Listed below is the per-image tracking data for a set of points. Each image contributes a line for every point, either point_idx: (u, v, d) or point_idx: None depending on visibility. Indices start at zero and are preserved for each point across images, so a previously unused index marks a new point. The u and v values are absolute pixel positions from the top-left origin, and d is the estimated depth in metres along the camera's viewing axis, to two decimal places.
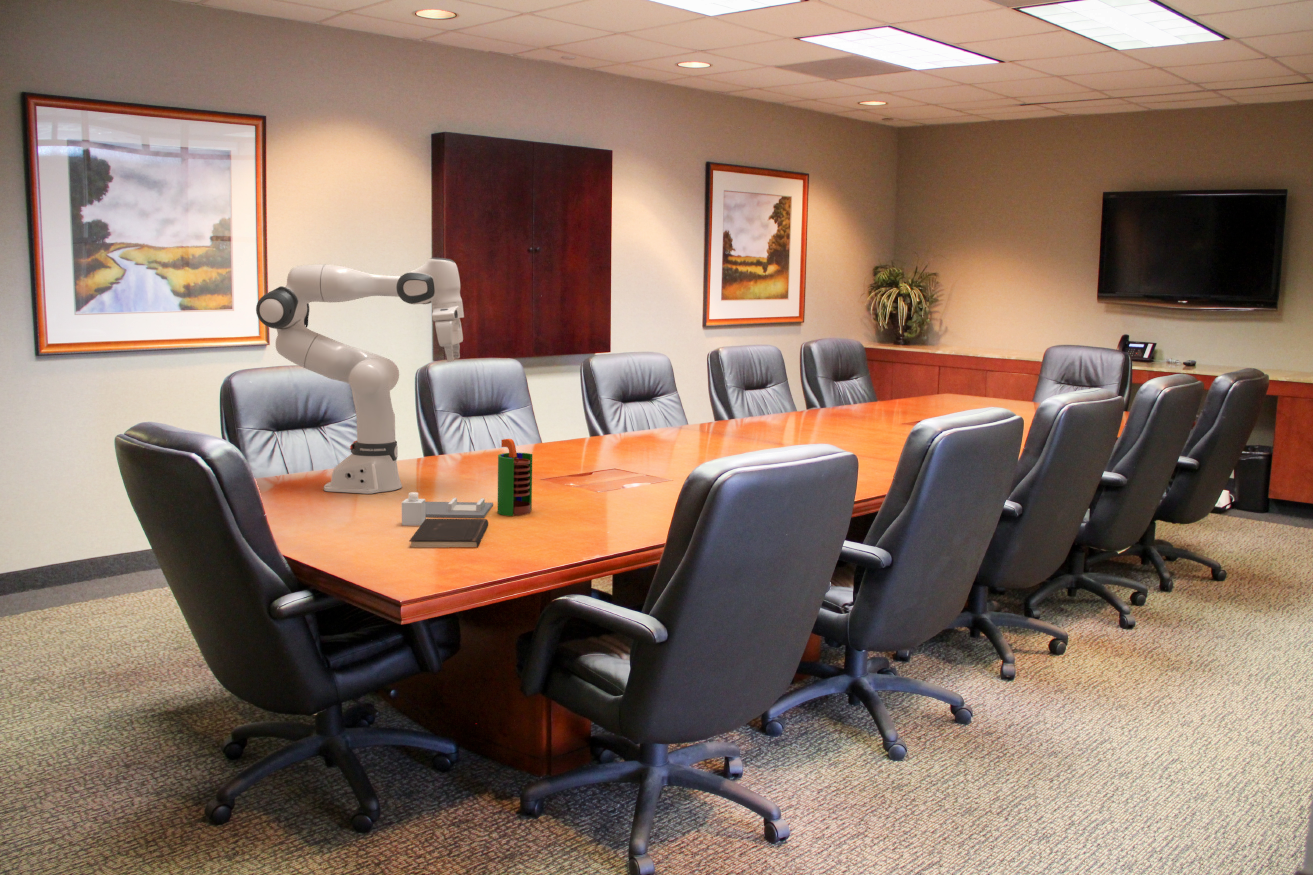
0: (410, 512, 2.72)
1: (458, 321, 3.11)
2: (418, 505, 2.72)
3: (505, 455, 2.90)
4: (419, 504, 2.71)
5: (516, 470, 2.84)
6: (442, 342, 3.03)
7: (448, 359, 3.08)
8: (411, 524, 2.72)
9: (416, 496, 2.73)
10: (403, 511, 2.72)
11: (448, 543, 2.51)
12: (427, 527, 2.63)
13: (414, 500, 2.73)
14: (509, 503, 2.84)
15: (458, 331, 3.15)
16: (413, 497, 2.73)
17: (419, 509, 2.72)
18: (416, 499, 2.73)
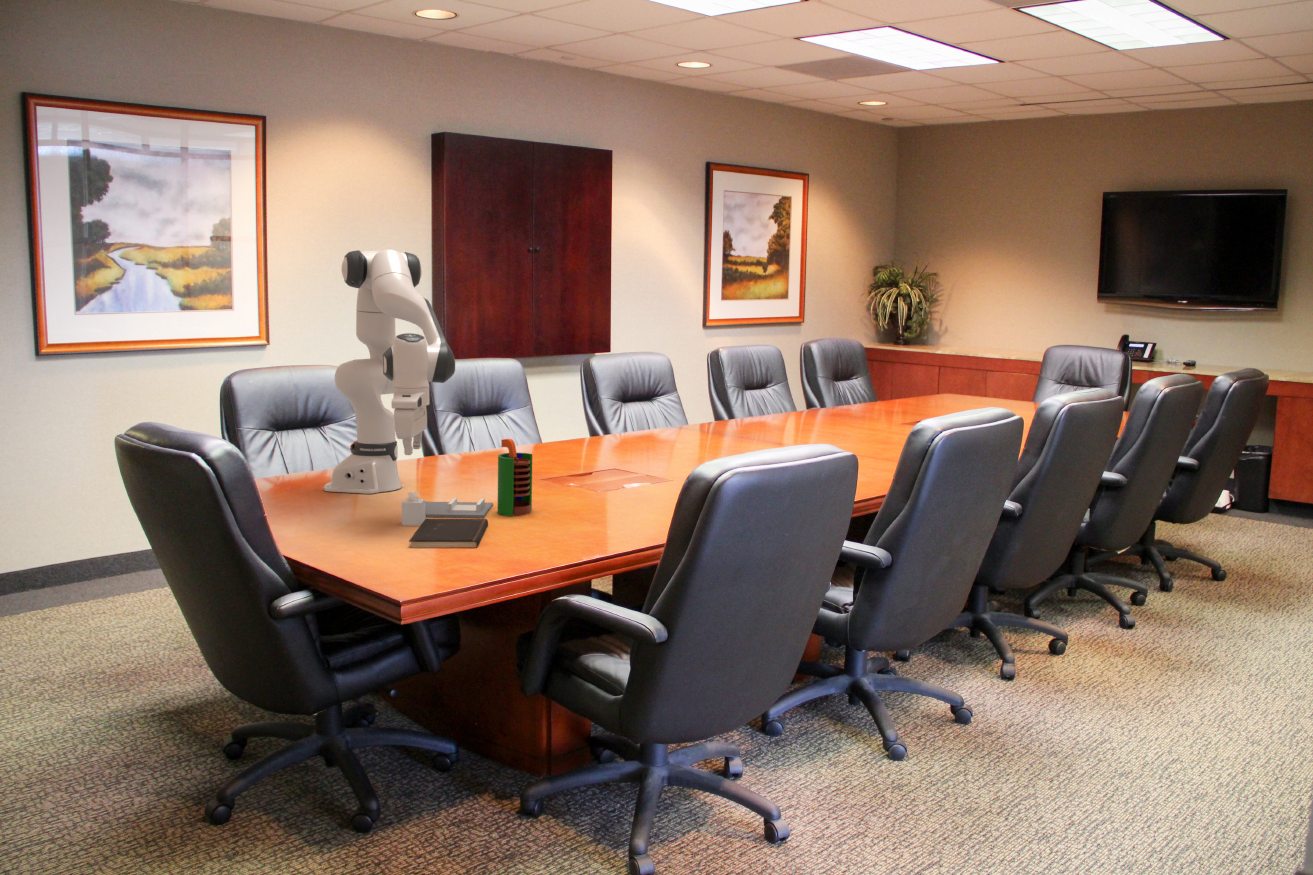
0: (410, 512, 2.72)
1: (422, 409, 2.69)
2: (418, 505, 2.72)
3: (505, 455, 2.90)
4: (419, 504, 2.71)
5: (516, 470, 2.84)
6: (400, 434, 2.61)
7: (406, 452, 2.66)
8: (411, 524, 2.72)
9: (416, 496, 2.73)
10: (403, 510, 2.72)
11: (448, 543, 2.51)
12: (427, 527, 2.63)
13: (414, 500, 2.73)
14: (509, 503, 2.84)
15: (421, 418, 2.74)
16: (413, 497, 2.73)
17: (419, 509, 2.72)
18: (416, 499, 2.73)
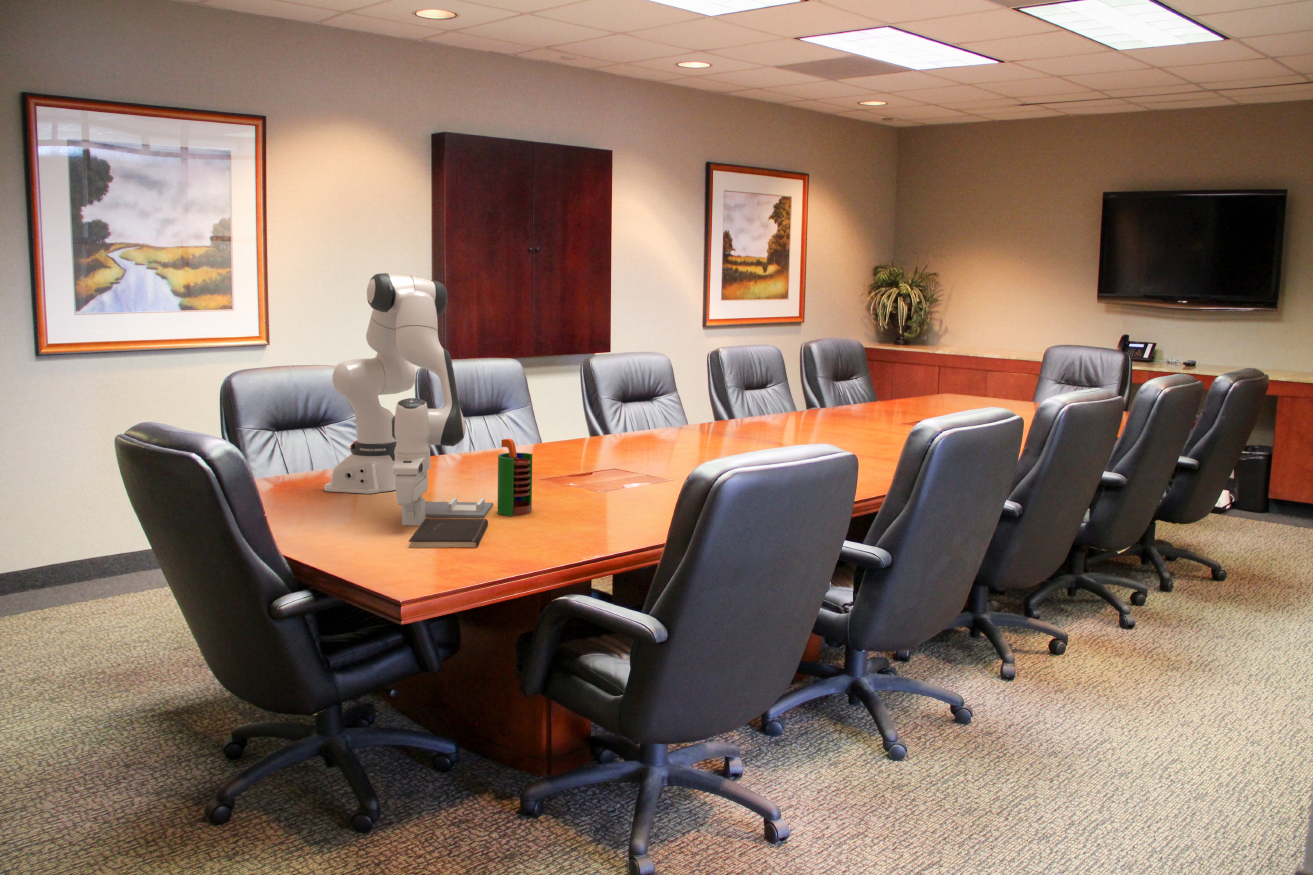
0: None
1: (423, 473, 2.72)
2: (418, 505, 2.72)
3: (505, 455, 2.90)
4: (419, 504, 2.71)
5: (516, 470, 2.84)
6: (401, 500, 2.64)
7: (408, 515, 2.70)
8: (411, 524, 2.72)
9: None
10: (403, 510, 2.72)
11: (447, 543, 2.51)
12: (427, 527, 2.63)
13: None
14: (509, 503, 2.84)
15: (422, 481, 2.76)
16: None
17: (419, 509, 2.72)
18: None
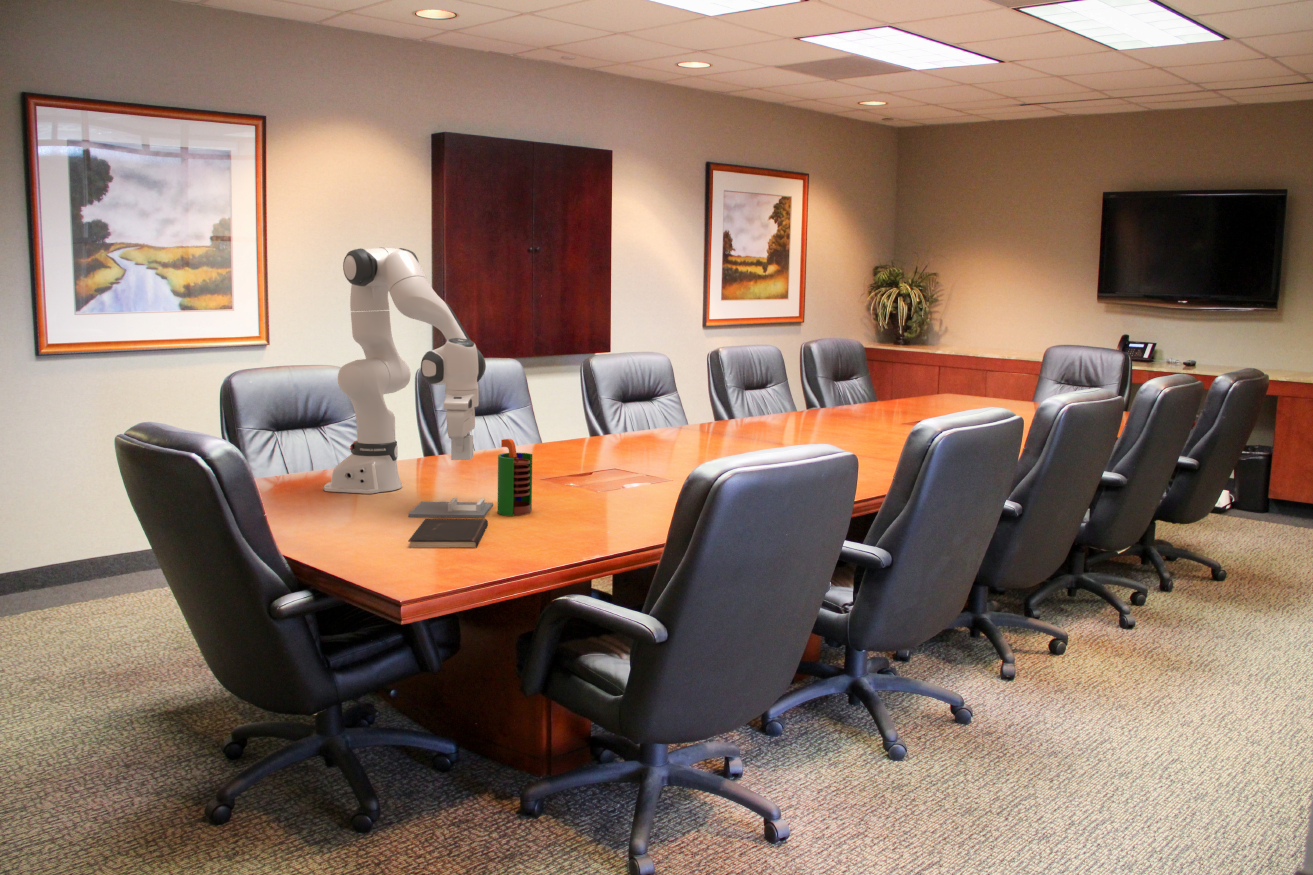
0: None
1: (472, 410, 2.83)
2: (467, 440, 2.83)
3: (505, 455, 2.90)
4: (468, 439, 2.83)
5: (516, 470, 2.84)
6: (451, 434, 2.75)
7: (457, 450, 2.82)
8: (460, 458, 2.84)
9: None
10: (453, 445, 2.84)
11: (447, 543, 2.51)
12: (426, 527, 2.63)
13: None
14: (509, 503, 2.84)
15: (470, 419, 2.88)
16: None
17: (468, 444, 2.83)
18: (465, 435, 2.85)
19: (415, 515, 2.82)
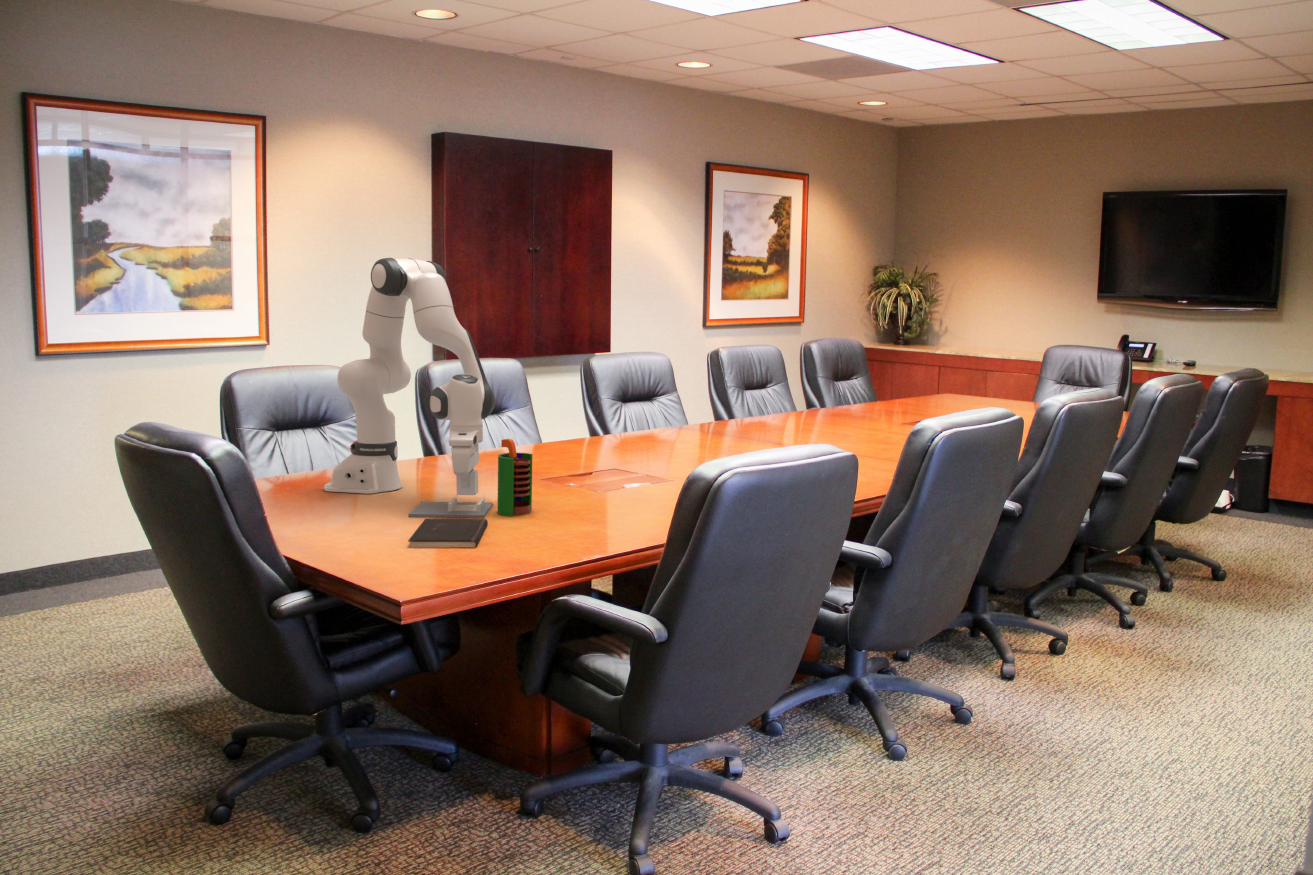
0: None
1: (476, 445, 2.86)
2: (472, 476, 2.86)
3: (505, 455, 2.90)
4: (473, 474, 2.86)
5: (516, 470, 2.84)
6: (457, 471, 2.78)
7: (462, 486, 2.85)
8: (465, 494, 2.86)
9: None
10: (458, 481, 2.86)
11: (447, 543, 2.51)
12: (426, 527, 2.63)
13: None
14: (509, 503, 2.84)
15: (475, 454, 2.91)
16: None
17: (473, 479, 2.86)
18: None
19: (415, 515, 2.82)
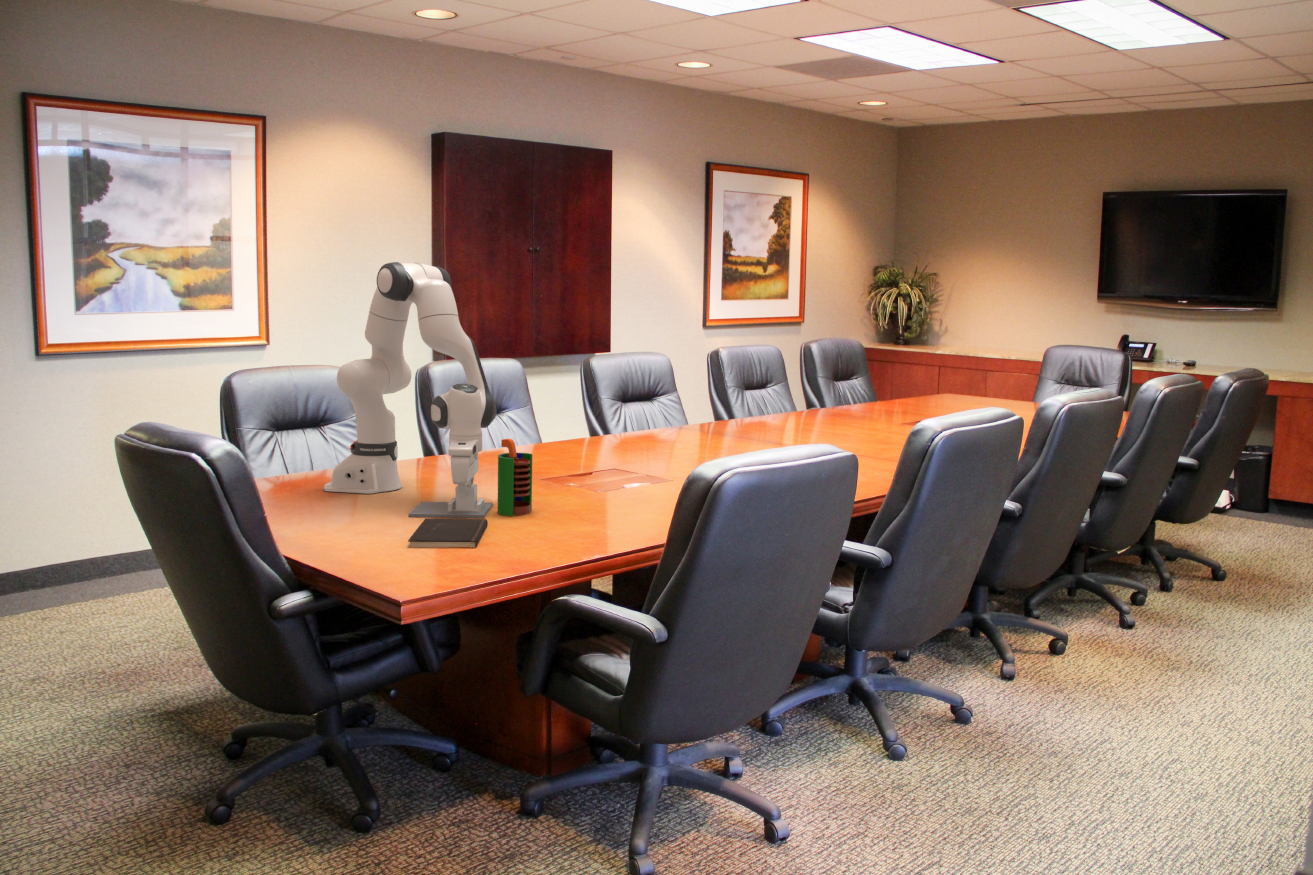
0: None
1: (475, 455, 2.86)
2: (471, 490, 2.86)
3: (505, 455, 2.90)
4: (472, 489, 2.86)
5: (516, 470, 2.84)
6: (456, 480, 2.78)
7: (461, 496, 2.84)
8: (464, 508, 2.87)
9: (469, 481, 2.88)
10: (457, 495, 2.86)
11: (446, 543, 2.51)
12: (426, 527, 2.63)
13: (467, 485, 2.88)
14: (509, 503, 2.84)
15: (474, 463, 2.91)
16: None
17: (472, 494, 2.86)
18: (469, 484, 2.88)
19: (415, 515, 2.82)
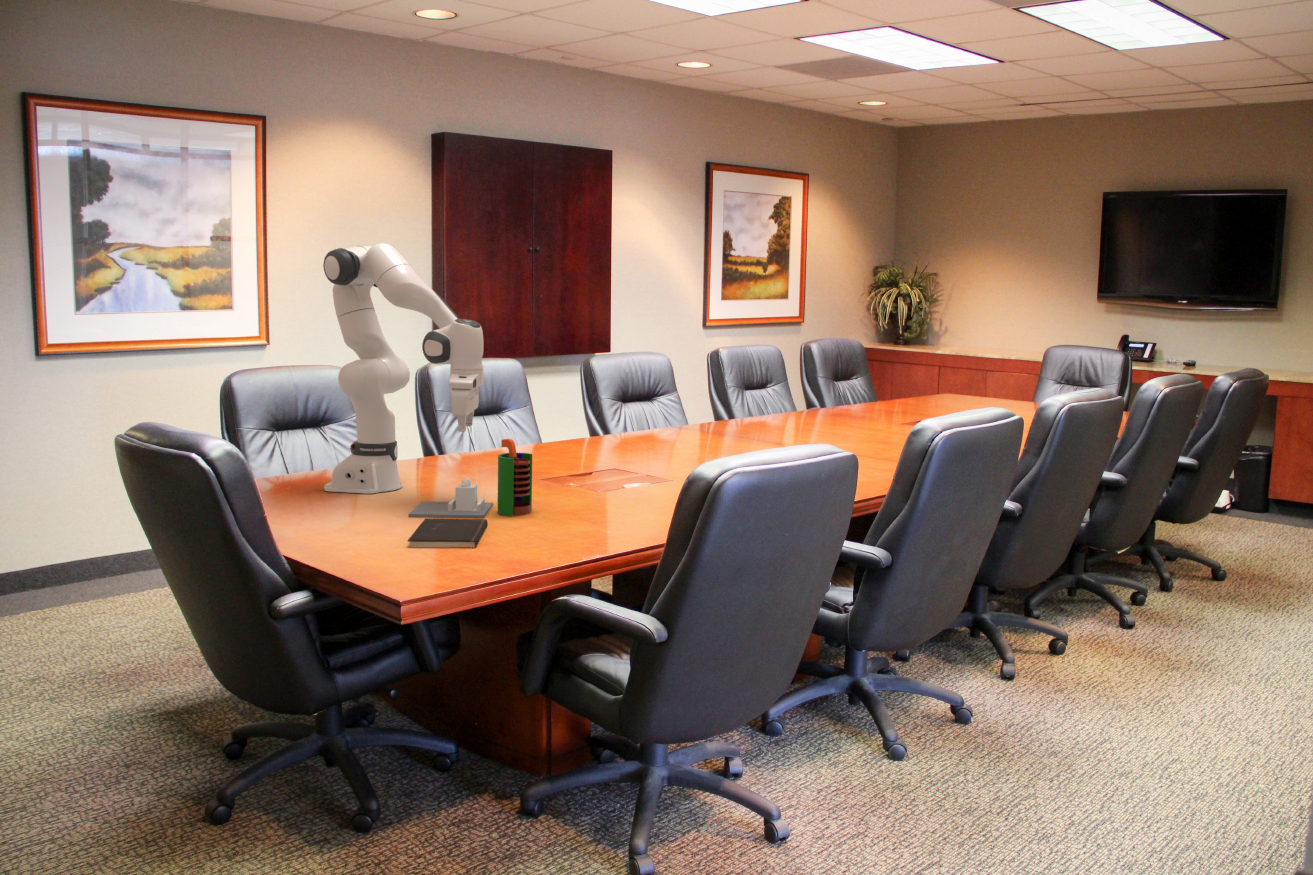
0: (463, 497, 2.87)
1: (476, 389, 2.91)
2: (471, 490, 2.86)
3: (505, 455, 2.90)
4: (472, 489, 2.86)
5: (516, 470, 2.84)
6: (455, 412, 2.83)
7: (460, 429, 2.88)
8: (464, 508, 2.87)
9: (469, 481, 2.88)
10: (457, 495, 2.86)
11: (446, 543, 2.51)
12: (426, 527, 2.63)
13: (467, 485, 2.88)
14: (509, 503, 2.84)
15: (474, 398, 2.95)
16: (466, 482, 2.87)
17: (472, 494, 2.86)
18: (469, 484, 2.88)
19: (415, 515, 2.82)
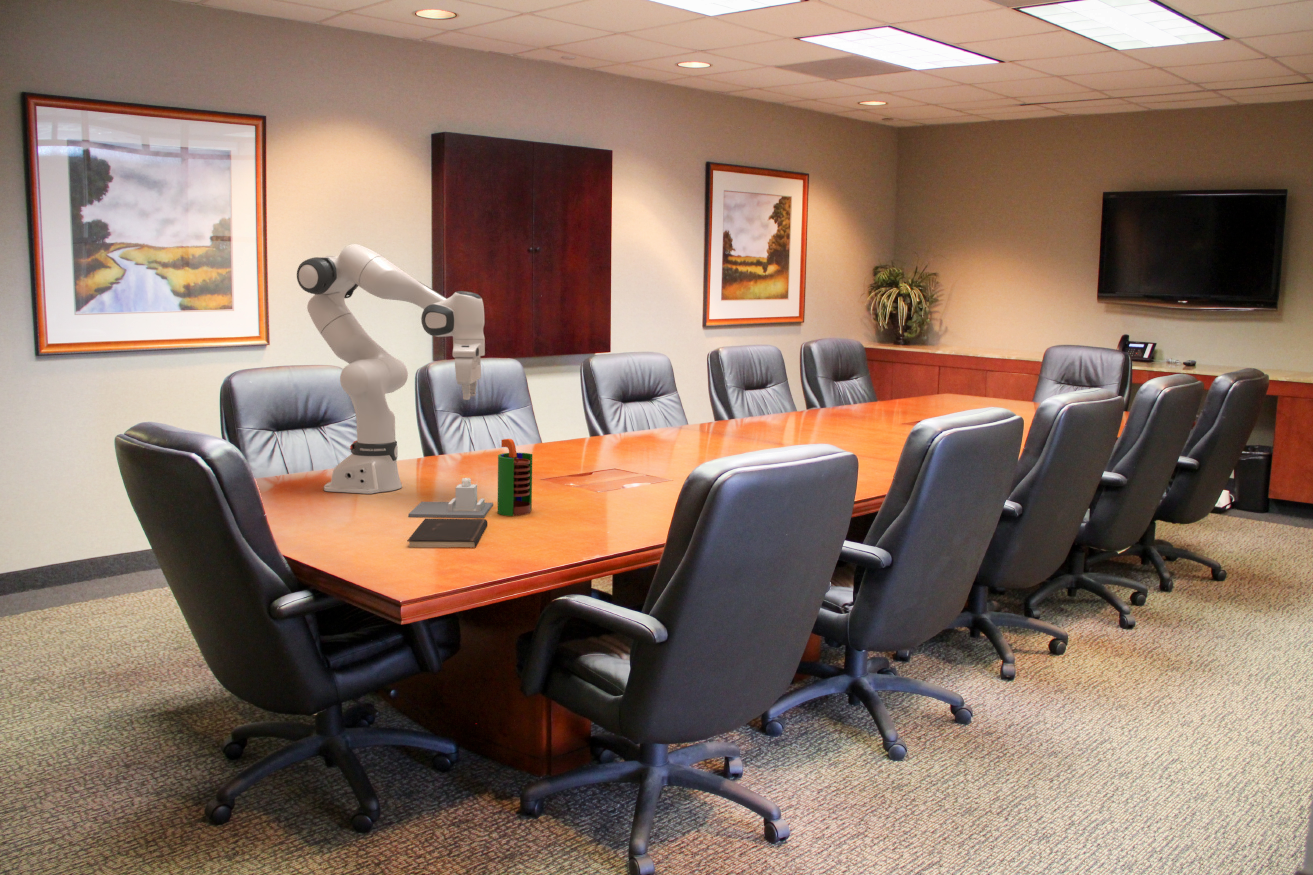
0: (463, 497, 2.87)
1: (478, 359, 3.00)
2: (471, 490, 2.86)
3: (505, 455, 2.90)
4: (472, 489, 2.86)
5: (516, 470, 2.84)
6: (460, 380, 2.92)
7: (464, 397, 2.98)
8: (464, 508, 2.87)
9: (469, 481, 2.88)
10: (457, 495, 2.86)
11: (446, 543, 2.51)
12: (426, 527, 2.63)
13: (467, 485, 2.88)
14: (509, 503, 2.84)
15: (477, 368, 3.05)
16: (466, 482, 2.87)
17: (472, 494, 2.86)
18: (469, 484, 2.88)
19: (415, 515, 2.82)
